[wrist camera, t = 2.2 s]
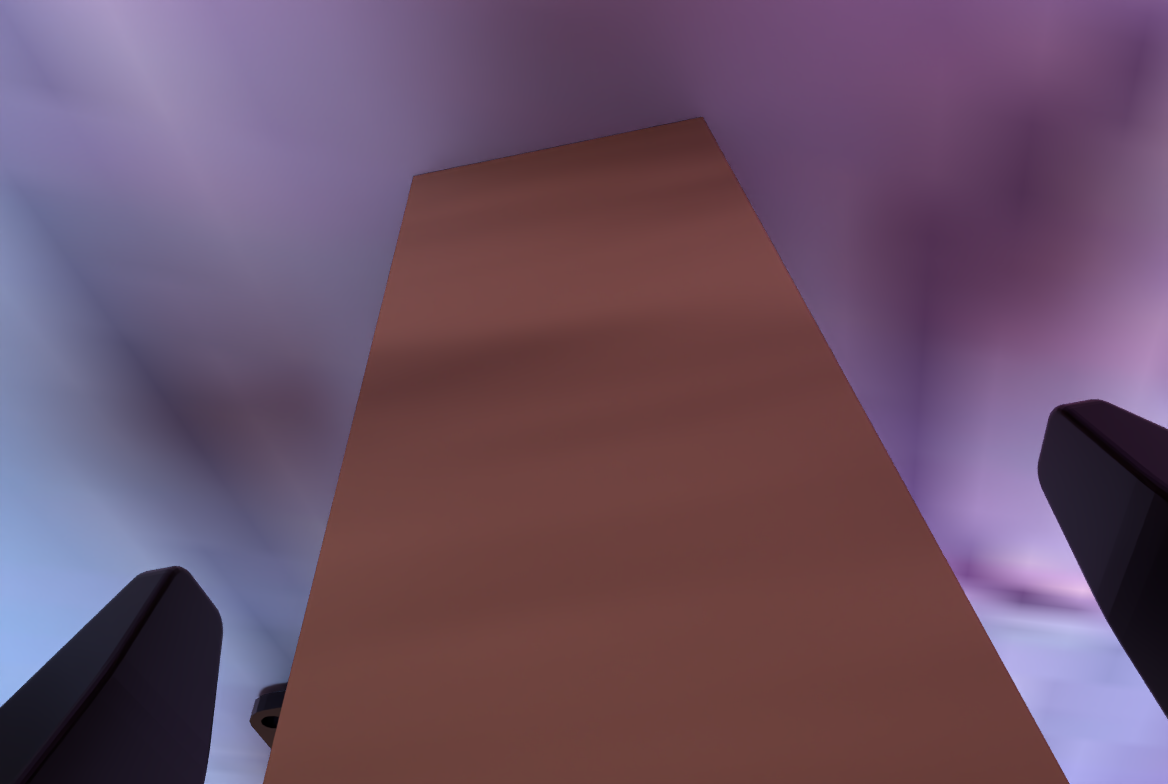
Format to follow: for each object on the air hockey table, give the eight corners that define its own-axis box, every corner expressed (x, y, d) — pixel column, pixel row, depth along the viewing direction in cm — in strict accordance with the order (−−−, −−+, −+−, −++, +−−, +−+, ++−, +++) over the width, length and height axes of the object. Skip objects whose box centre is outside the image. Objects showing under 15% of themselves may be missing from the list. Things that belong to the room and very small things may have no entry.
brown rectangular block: (723, 355, 13) (969, 1036, 6) (487, 399, 13) (458, 1106, 6) (702, 116, 11) (1076, 795, 4) (413, 176, 11) (228, 926, 4)
